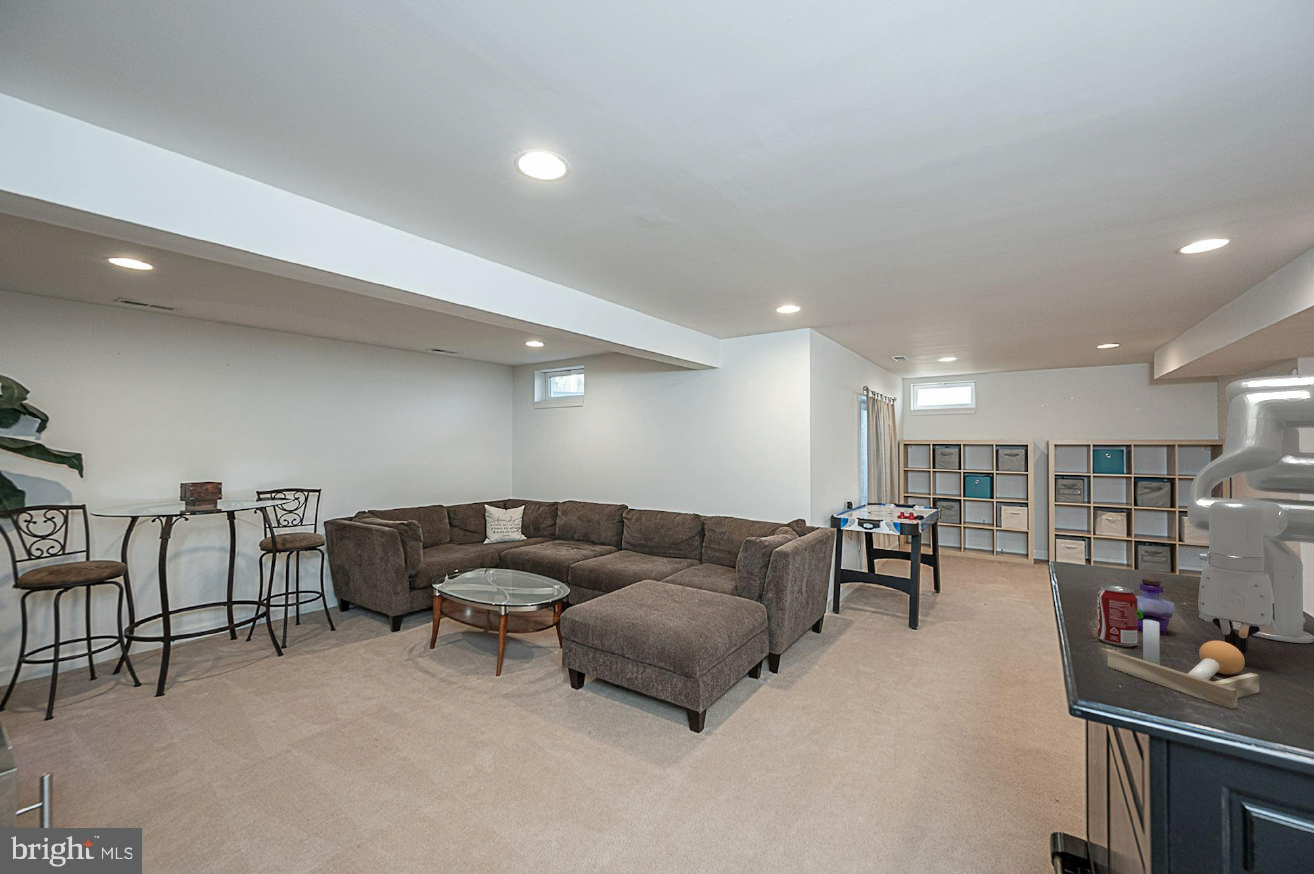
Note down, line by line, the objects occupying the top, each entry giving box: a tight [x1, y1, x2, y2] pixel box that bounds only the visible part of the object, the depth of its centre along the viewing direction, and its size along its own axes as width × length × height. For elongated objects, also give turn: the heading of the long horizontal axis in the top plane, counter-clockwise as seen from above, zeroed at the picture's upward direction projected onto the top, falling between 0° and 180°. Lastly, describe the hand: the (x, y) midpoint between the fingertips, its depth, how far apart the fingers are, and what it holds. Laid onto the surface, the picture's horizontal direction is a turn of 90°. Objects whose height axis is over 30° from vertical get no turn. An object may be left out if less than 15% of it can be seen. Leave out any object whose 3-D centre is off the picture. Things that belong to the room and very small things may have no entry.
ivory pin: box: [1187, 658, 1220, 680], centre depth 99 cm, size 2×2×8 cm
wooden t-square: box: [1107, 650, 1260, 710], centre depth 99 cm, size 13×18×3 cm
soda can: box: [1096, 584, 1139, 648], centre depth 119 cm, size 7×7×12 cm
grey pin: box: [1142, 620, 1161, 666], centre depth 107 cm, size 2×2×8 cm
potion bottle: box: [1135, 577, 1176, 635], centre depth 128 cm, size 9×9×12 cm
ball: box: [1198, 640, 1246, 675], centre depth 103 cm, size 6×6×6 cm
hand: (1236, 654), depth 109 cm, fingers closed
